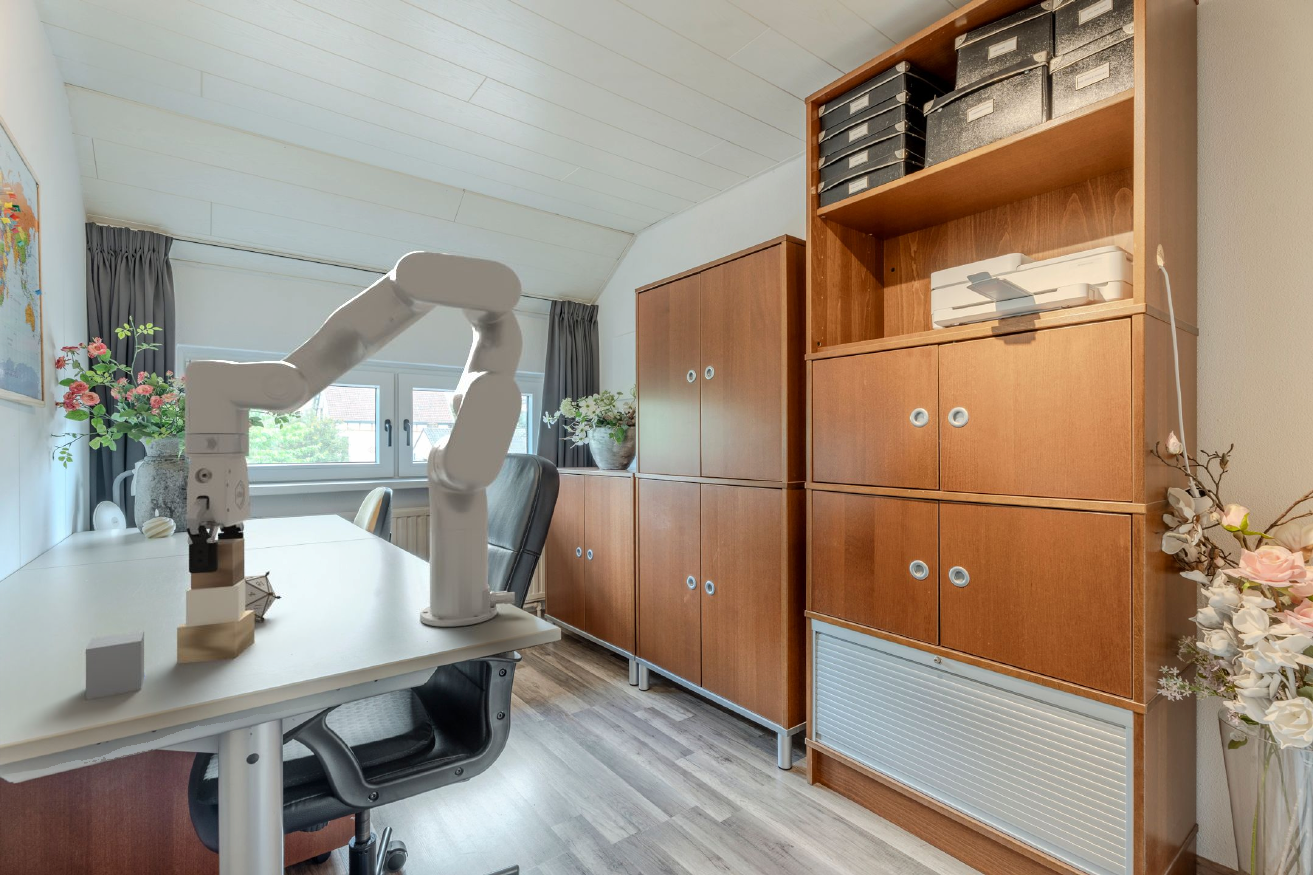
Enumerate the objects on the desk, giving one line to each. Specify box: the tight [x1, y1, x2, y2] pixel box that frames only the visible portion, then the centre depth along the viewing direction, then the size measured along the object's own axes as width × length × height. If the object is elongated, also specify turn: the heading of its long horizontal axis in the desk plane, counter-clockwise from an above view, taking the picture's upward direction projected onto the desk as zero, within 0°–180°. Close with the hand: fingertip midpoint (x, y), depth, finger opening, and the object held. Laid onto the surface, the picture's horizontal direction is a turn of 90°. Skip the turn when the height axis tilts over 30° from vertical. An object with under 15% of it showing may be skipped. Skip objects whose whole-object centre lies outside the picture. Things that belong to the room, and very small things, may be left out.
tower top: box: [185, 579, 245, 627], centre depth 88 cm, size 6×6×5 cm
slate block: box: [85, 630, 145, 701], centre depth 75 cm, size 5×5×6 cm
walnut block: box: [190, 538, 246, 589], centre depth 88 cm, size 5×5×6 cm
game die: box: [245, 570, 282, 623], centre depth 103 cm, size 9×8×10 cm
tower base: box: [176, 610, 255, 664], centre depth 88 cm, size 7×7×5 cm
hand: (217, 565), depth 88 cm, fingers open, 9 cm apart
